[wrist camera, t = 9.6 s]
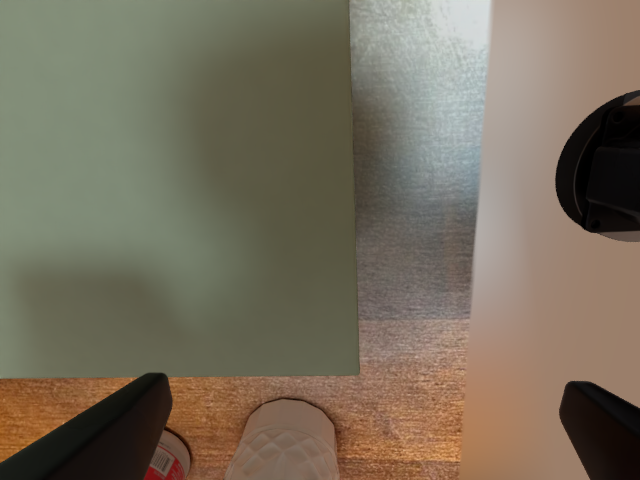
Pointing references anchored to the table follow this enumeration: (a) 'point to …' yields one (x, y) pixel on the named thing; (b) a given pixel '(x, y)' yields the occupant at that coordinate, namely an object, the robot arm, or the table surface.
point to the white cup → (286, 444)
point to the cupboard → (177, 189)
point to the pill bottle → (169, 459)
